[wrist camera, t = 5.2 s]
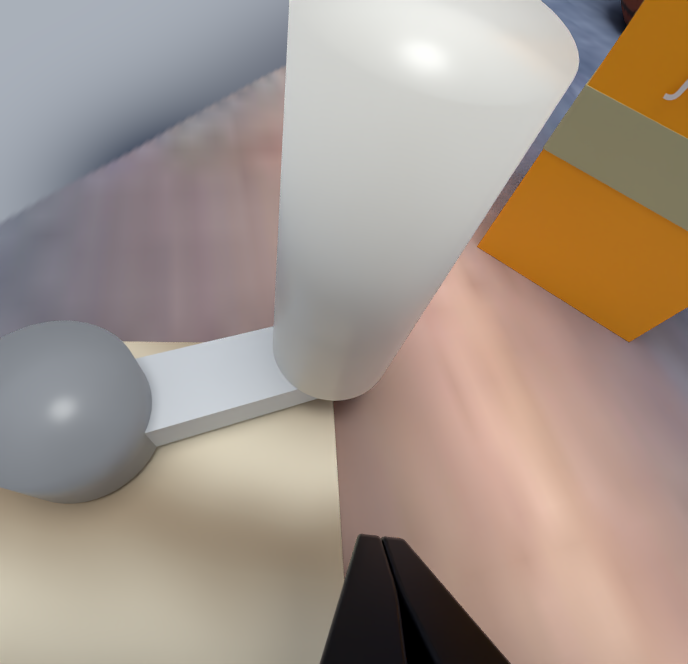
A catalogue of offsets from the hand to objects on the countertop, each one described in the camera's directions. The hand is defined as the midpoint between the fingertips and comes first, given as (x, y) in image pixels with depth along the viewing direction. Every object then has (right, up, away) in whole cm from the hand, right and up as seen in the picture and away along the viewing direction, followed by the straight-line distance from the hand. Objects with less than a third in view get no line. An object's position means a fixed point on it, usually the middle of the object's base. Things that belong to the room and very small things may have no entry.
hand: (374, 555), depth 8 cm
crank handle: (-8, +1, +6) cm, 10 cm away
